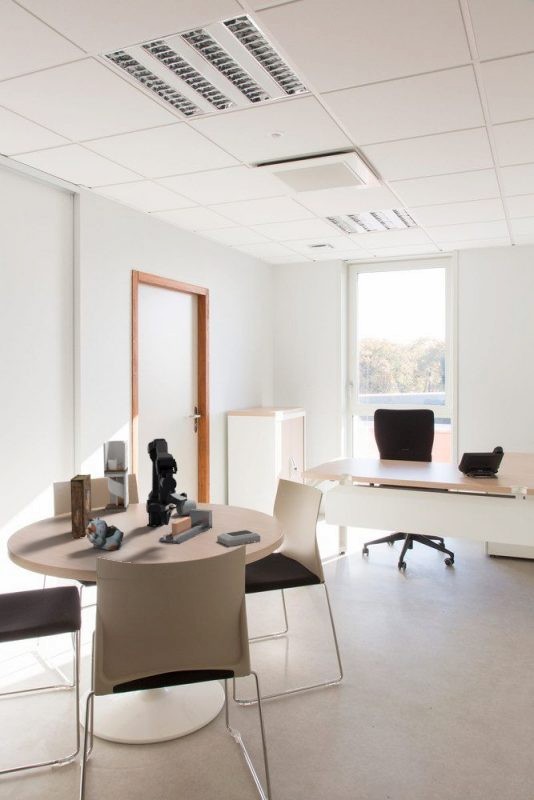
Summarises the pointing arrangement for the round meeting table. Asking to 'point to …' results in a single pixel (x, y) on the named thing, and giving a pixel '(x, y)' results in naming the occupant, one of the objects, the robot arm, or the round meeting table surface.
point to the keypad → (238, 537)
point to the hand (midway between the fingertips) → (166, 525)
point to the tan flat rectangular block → (181, 526)
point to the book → (80, 504)
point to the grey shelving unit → (116, 475)
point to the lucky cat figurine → (104, 535)
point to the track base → (192, 526)
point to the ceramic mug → (186, 507)
